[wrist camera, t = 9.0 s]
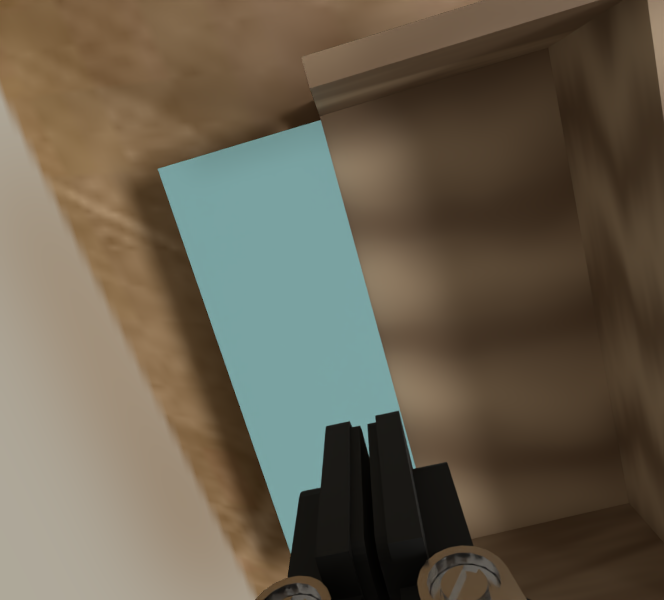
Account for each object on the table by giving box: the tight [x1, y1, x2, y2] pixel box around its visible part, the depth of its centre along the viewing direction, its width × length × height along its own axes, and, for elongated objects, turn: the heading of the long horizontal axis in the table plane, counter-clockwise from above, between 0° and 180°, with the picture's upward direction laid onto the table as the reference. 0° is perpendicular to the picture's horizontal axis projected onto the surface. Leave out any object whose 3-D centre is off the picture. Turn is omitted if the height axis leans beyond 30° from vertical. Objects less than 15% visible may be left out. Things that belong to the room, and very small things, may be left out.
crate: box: [301, 0, 664, 600], centre depth 24 cm, size 27×12×10 cm, turn 16°
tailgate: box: [158, 120, 416, 553], centre depth 28 cm, size 24×1×8 cm
